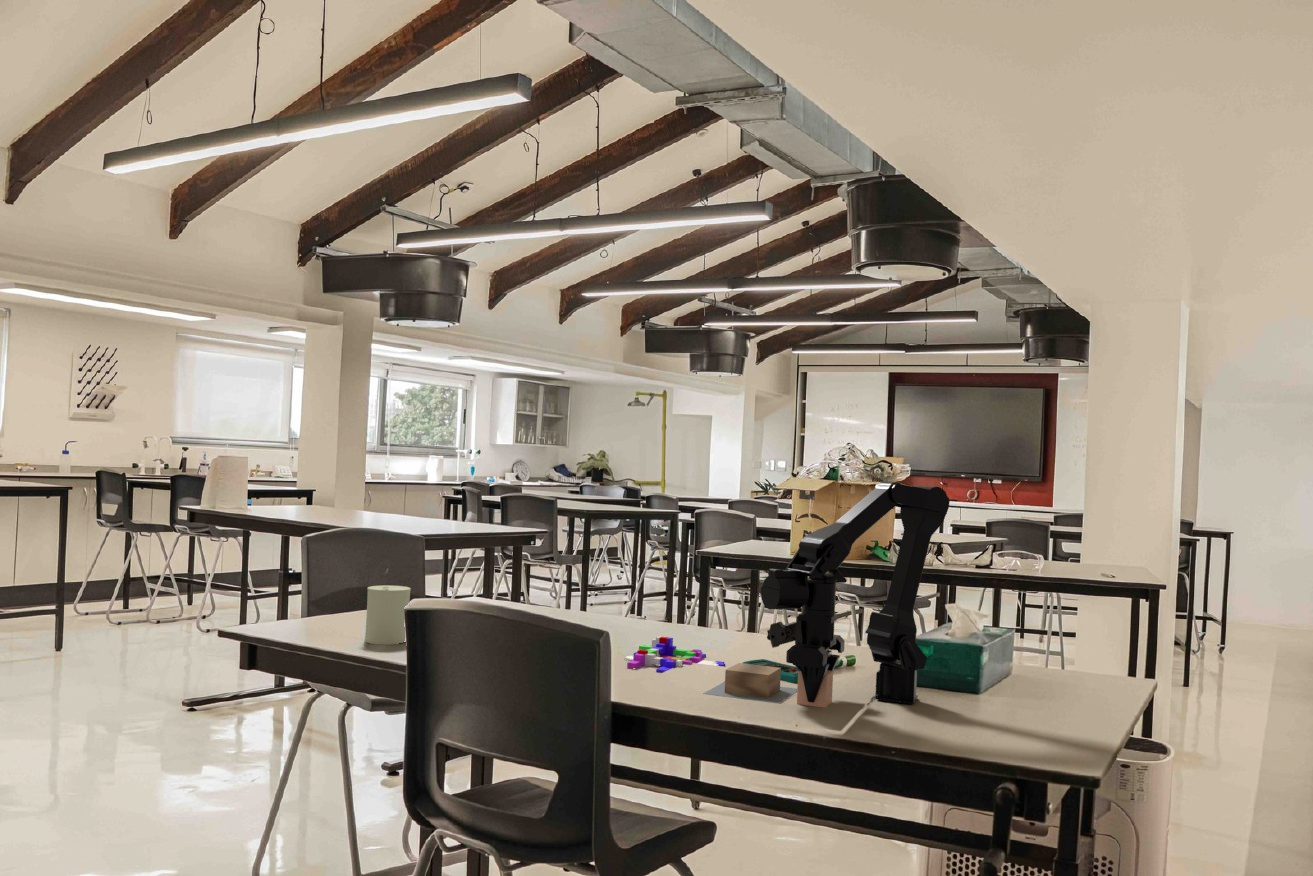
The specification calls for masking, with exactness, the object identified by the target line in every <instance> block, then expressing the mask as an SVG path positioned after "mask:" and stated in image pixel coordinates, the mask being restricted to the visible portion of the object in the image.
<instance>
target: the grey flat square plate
mask: <svg viewBox="0 0 1313 876" xmlns="http://www.w3.org/2000/svg"><path fill="white" fill-rule="evenodd" d="M796 693H797V688H793V687H786V686H780V690H779V691H778V692H776V693H775V694H773V695H772V696H770V697H769V698H764V697H756V696H748V695H740V694H732V693H725V681H722V683H720V684H717V685H715V686H714V687H712V688H711V689H709V690H707V691H705V692H703V693H702V695H709V696H715V697H723V698H725V697H727V698H734V699H740V700H747V701H748V700H749V701H757V702H763V703H772V704H782V703H784V702H785V701H786V700H788V699H789V698H790V697H792V696H794V695H795V694H796Z"/></svg>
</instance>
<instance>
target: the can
mask: <svg viewBox="0 0 1313 876" xmlns="http://www.w3.org/2000/svg"><path fill="white" fill-rule="evenodd" d="M366 590H367V597H366V598H367V599H366V604H367V605H366V618H365V619H366V621H365V633H364V634H365V635H364V640H363V641H364V642H365V643H366V644H370V645H378V646H379V645H380V646H381V645H382V646H383V645H384V646H392V645H393V644H396V645H400V644H399V643H403V642H404V641H405V627H404V607H405V606H406V605H407V604H408V603H409V602H410V600H411V590H412V588H411V587H410V586H409V587H408V586H403V585H383V584H382V585H372V586H368V587H367V589H366ZM409 604H410V603H409ZM403 644H404V643H403Z"/></svg>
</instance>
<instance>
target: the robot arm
mask: <svg viewBox="0 0 1313 876" xmlns="http://www.w3.org/2000/svg"><path fill="white" fill-rule="evenodd" d="M950 502H951V501H950V497H948V494H947V492H946V491H945V489H944V488H941V487H940V486H933V485H932V486H930V485H908V484H904V483H902V482H901V483H900V482H898V481H880V482H879V483H877V484H876V485H875V486H874V489H872V490H871V491H870V492H869V493H868V494H866V496H865V497H863V498H862V499H861V500H859V502H857V503H856V504H855V505H854V506H853V507H851V508H850V509H849V510H848V511H847V512H845V514H843V515H842V516H841V517H839V519H837V520H836V521H835V522H834V523H832V524H829V525H826V526H824V527H820V528H818V529H816V530H815V531H813V532H811V533H809V534H807V535H806V536H804V537H803V538H802V539H801V540H800V541H799V543H798V549H797V551H796V553H795V554H794V555H793V557H792V559H791V560H790V561H789V562H788V563H787V566H786V567H785V569H777V568H769V569H768V576H766V577H765V579H764V580H763V582H762V586H761V587H760V596H761V597H760V598H761V601H762V603H763V606H764V607H765V608H766V609H768V610H775V611H776V610H799V609H801V612H800V613H798V615H797V616H796V621H792V622H788V623H785V624H784V623H783V622H782V621H781V620H780V621H778V622H773V623H771V624H770V627H769V629H767V631H766V632H767V635H766V639H767V641H770V645H771V647H772V649H774V648H777V647H779V646H781V645H784V644H788V643H792V642H794V644H793V645H792V646H791V647H789V649H787V650H786V656H785V658H786V659H785V662H786V663H787V664H792V666H795V667H797V668H798V669H799V670H800V671H801V673H802V677H803V682H804V686H805V691H806V696H807V700H808V702H815V699H816V697H817V694H818V692H819V689H820V687H821V684H822V682H823V679H824V677H825V674H826V672H827V670H831V671H833V672H834V669H835V668H836V665H837V663H838V662H839V659H840V658H841V655H840V654H842V653H843V652H845V640H844V638H843V637H842V636H841V634H835V622H836V621H837V620H838V614H837V613H836V596H837V595H836V590H837V584H842V583H843V584H845V583H847V581H848V580H847V578H846V577H845V576H844V575H843V574H842V573H841V572H840V570H839V567H841V565H842V564H843V562H844V561H845V560H846V559H847V558H848V556H849V555H850V554H851V550H852V547H853V545H854V543H855V542H856V541H857V540H858V539H859V538H861V536H862V535H864V534H865V533H866V532H868V530H870V529H871V528H872V527H873V526H874V525H876V523H878V521H880V520H881V519H882V518H883V517H884V516H886V515H887V514H888V513H889V512H891V510H892V509H894V508H895V507H897V508H899V509H900V510H899V516H900V519H901V523H902V526H903V533H902V536H901V542H900V545H899V549H898V553H897V556H896V560H895V566H894V569H893V574H892V578H891V582H890V585H889V589H888V594H887V598H886V601H885V604H884V606H883V607H882V608H881V610H880V611H879V612H876V611H871V613H870V615H869V621H868V625H867V628H866V630H865V634H867V637H866V644H867V645H868V647H869V650H870V652H871V655H872V660H873V662H875V663H880V664H879V670H878V671H876V675H875V695H876V700H878V701H883V702H884V701H885V702H890V703H899V704H908V705H914V704H915V702H916V701H917V700H918V697H919V695H917V683H918V681H917V680H918V671H919V670H923V669H925V667H926V664H927V660H928V657H927V656H926V655H925V653H924V652H923V650H922V649H921V648H920V647H919V645H918V644H917V643H916V640H917V634H918V633H917V632H918V631H917V630H918V629H917V625H916V621H915V617H914V607H915V604H916V600H917V595H918V591H919V588H920V585H921V584H920V583H921V579H922V574H923V571H924V566H925V563H926V559H927V555H928V550H929V547H930V543H931V539H932V537H933V535H934V534H935V533H936V531H937V530H938V529H939V528H940V527H941V526H942V525H943V523H944V522H945V521H944V520H945V518H946V516H947V513H948V511H949V507H950ZM833 651H837V653H838V654H839V655H838V654H833Z"/></svg>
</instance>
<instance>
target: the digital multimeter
mask: <svg viewBox="0 0 1313 876" xmlns="http://www.w3.org/2000/svg"><path fill="white" fill-rule="evenodd" d="M742 663H743V664H752V665H761V666H769V667H778V668H781V678H780V681H784V682H787V683H791V684H798V672H799V671H800V670H799V669H798V668H797V667H796V666H795V665H789V664H785V663H782V662H778V661H773V660H769V659H764V658H760V659H753V660H746V661H743V662H742Z"/></svg>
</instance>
